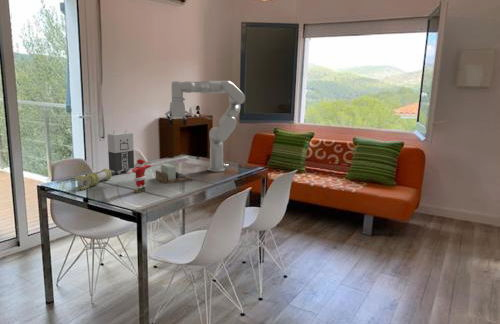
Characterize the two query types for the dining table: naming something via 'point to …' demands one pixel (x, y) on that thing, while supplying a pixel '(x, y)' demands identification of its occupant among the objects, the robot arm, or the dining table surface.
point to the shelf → (179, 178)
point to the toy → (120, 151)
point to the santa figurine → (140, 175)
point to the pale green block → (169, 171)
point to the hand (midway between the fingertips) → (177, 125)
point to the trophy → (92, 179)
